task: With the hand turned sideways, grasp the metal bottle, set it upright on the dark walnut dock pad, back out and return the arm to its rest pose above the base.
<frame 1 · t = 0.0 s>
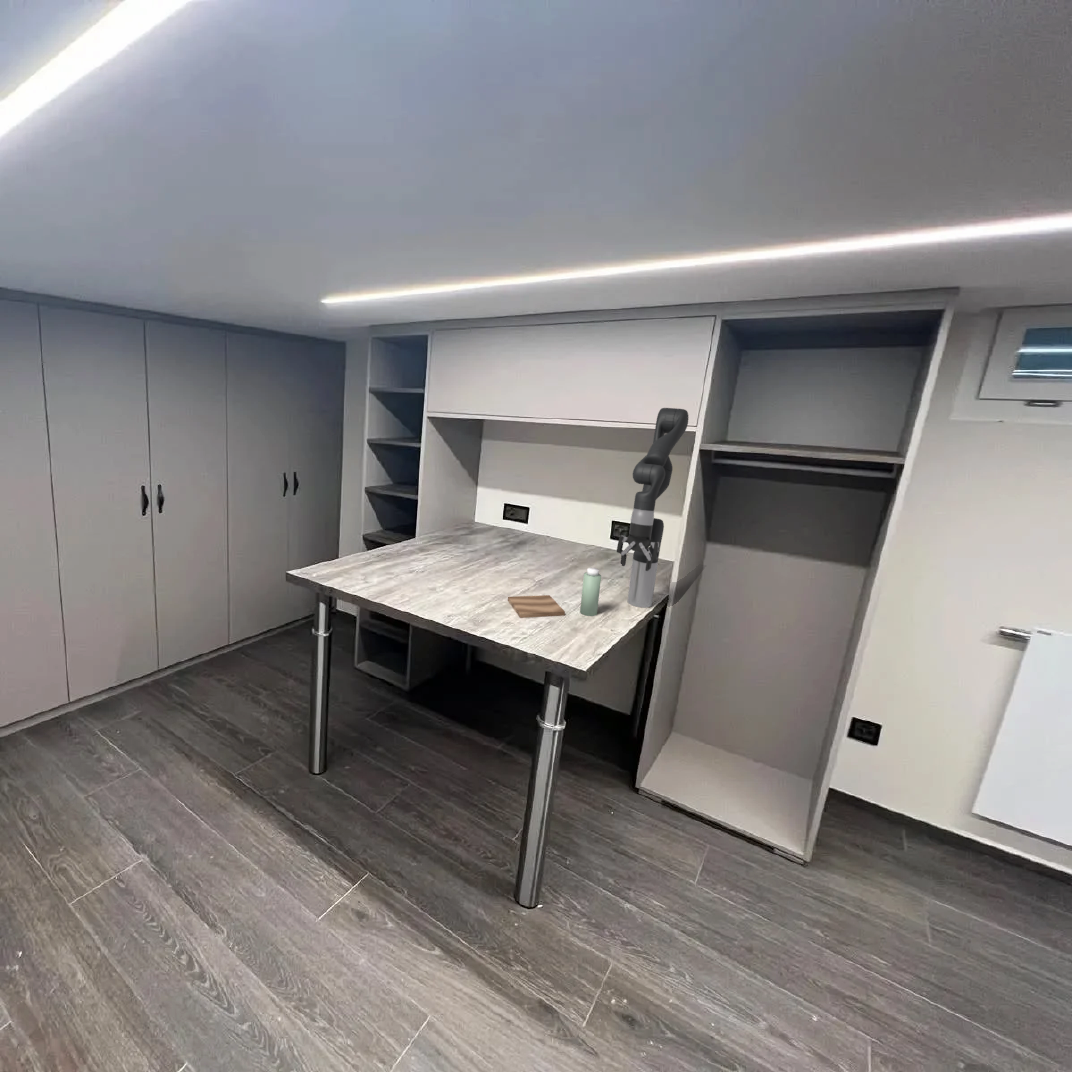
hand: (635, 568, 175), 17 cm above the table, tool pointing down, fingers open, 8 cm apart
bottle: (588, 612, 176), on the table
dock: (535, 607, 177), on the table
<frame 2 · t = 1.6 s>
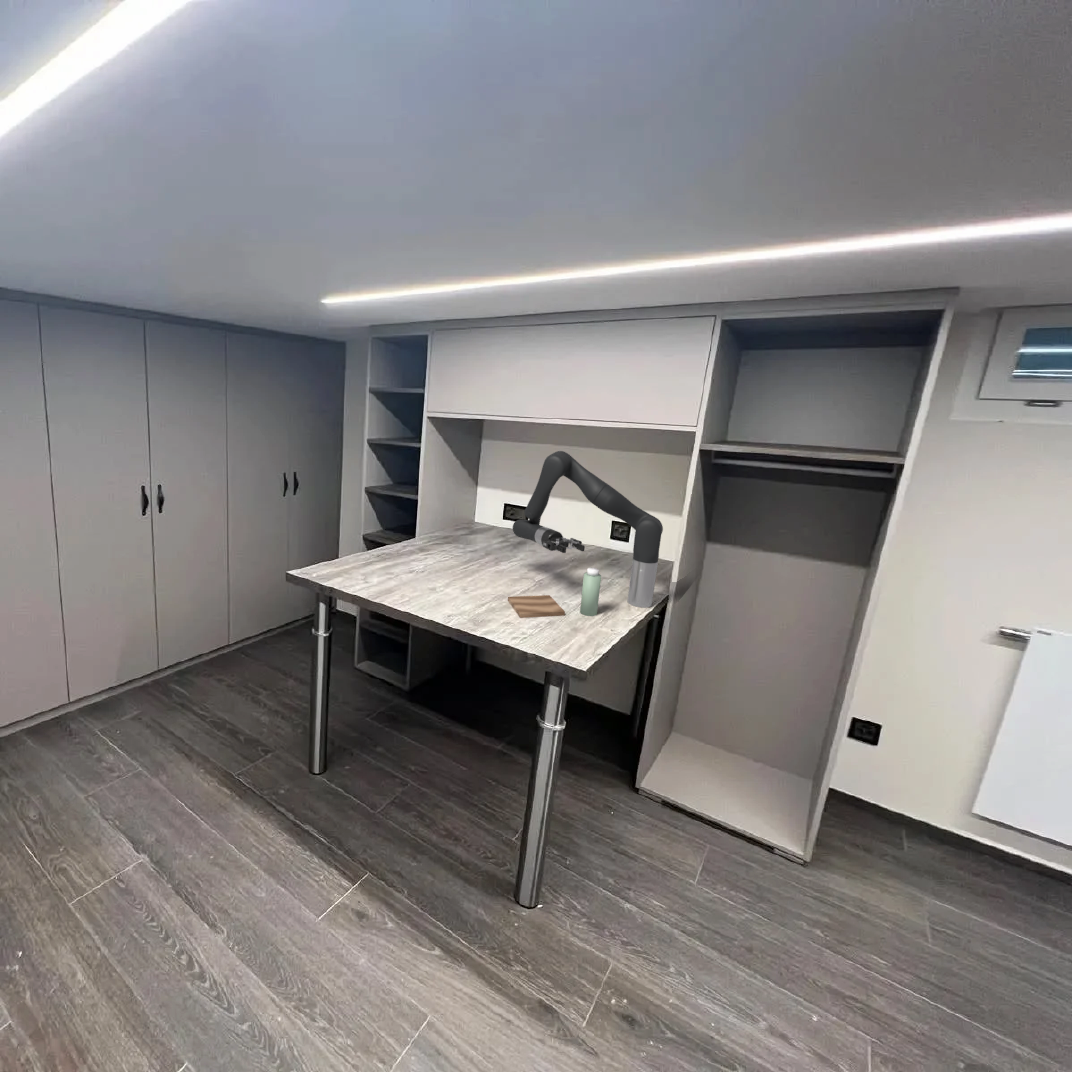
hand: (574, 549, 180), 20 cm above the table, tool horizontal, fingers open, 8 cm apart
nothing on the table moved.
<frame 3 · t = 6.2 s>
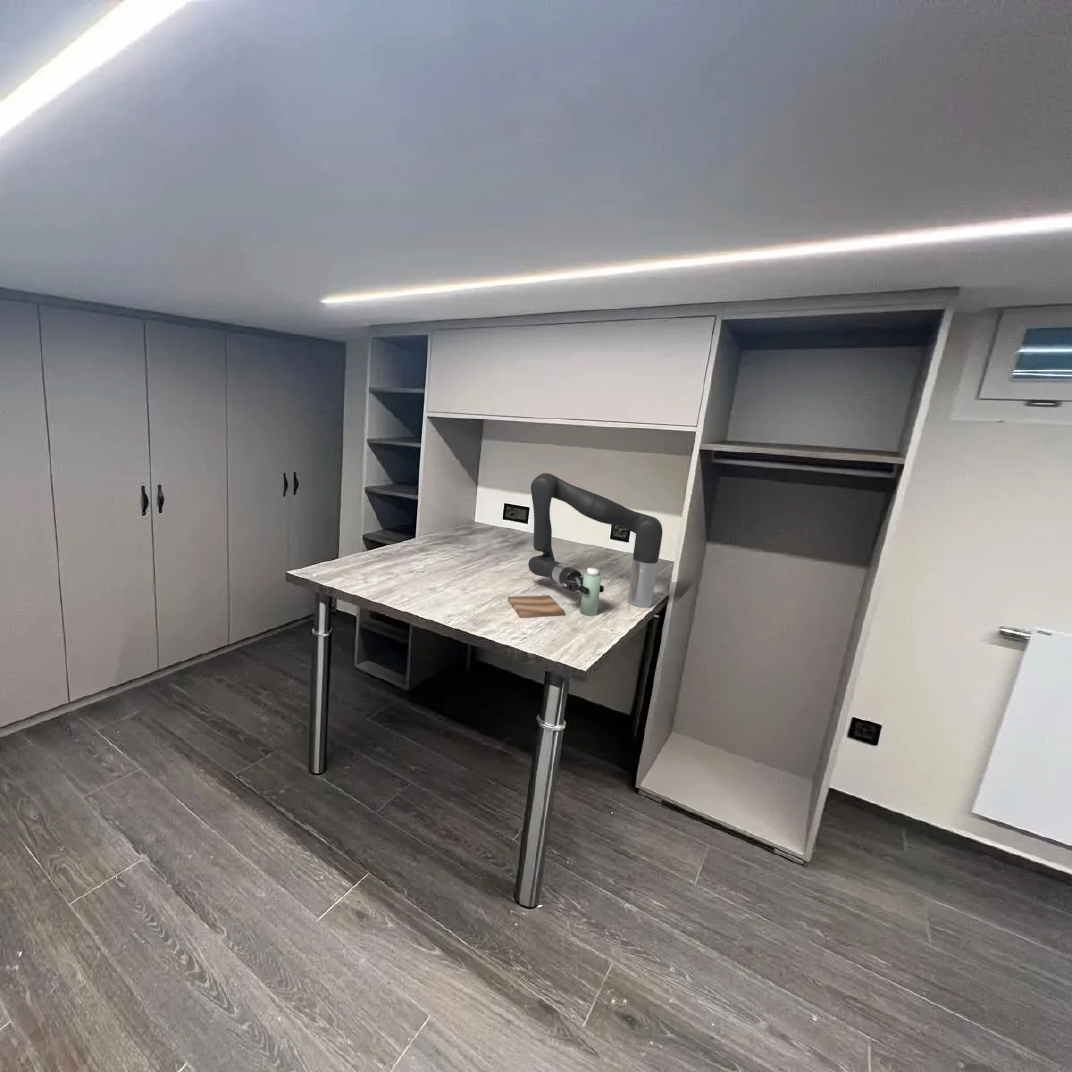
hand: (595, 590, 172), 9 cm above the table, tool horizontal, fingers closed on bottle, 6 cm apart
bottle: (588, 612, 176), on the table, touching gripper
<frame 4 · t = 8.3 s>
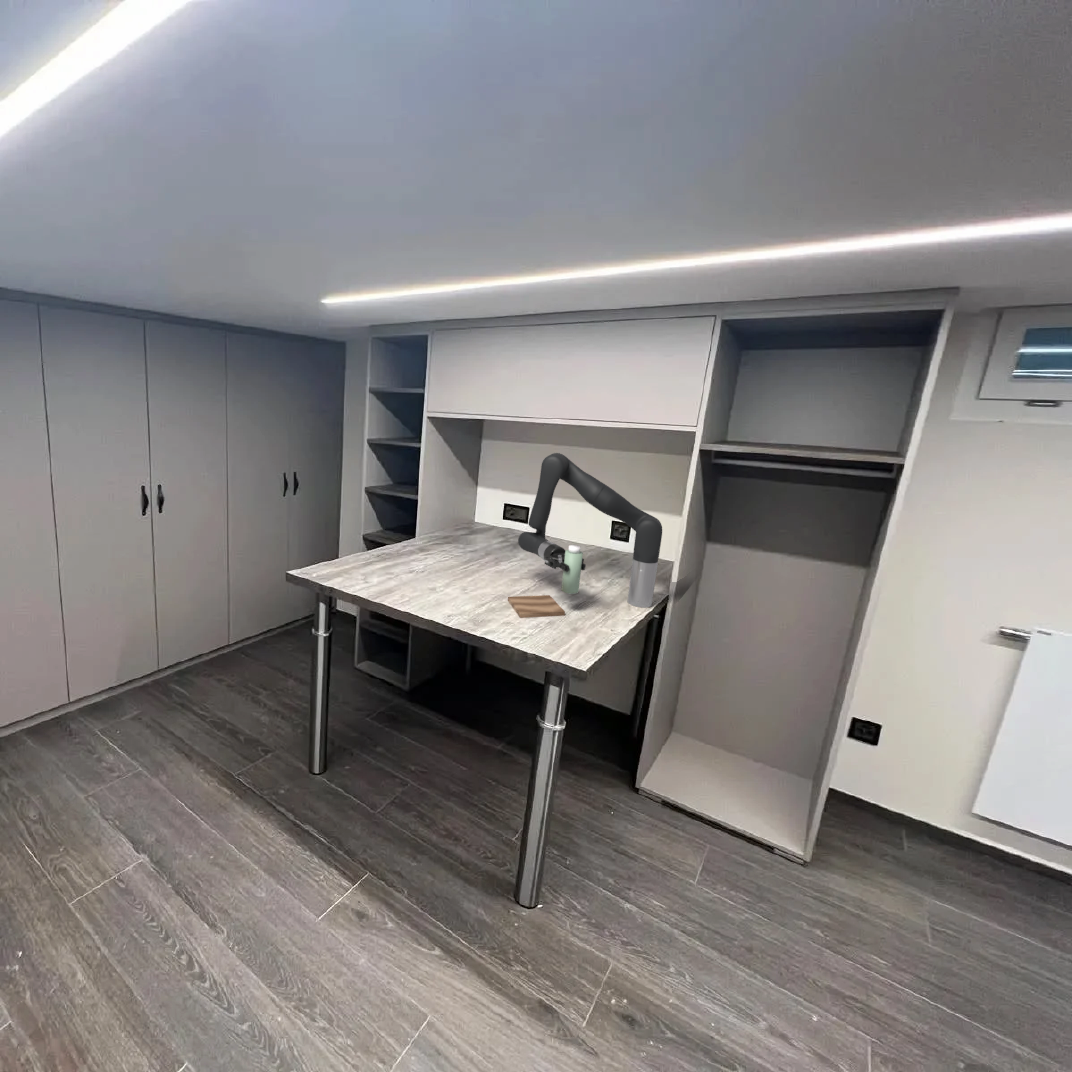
hand: (576, 568, 170), 17 cm above the table, tool horizontal, fingers closed on bottle, 6 cm apart
bottle: (569, 590, 175), point 8 cm above the table, touching gripper
when the fingers open (12 cm above the table, at t = 10.7 s): bottle drops 1 cm, resting on dock.
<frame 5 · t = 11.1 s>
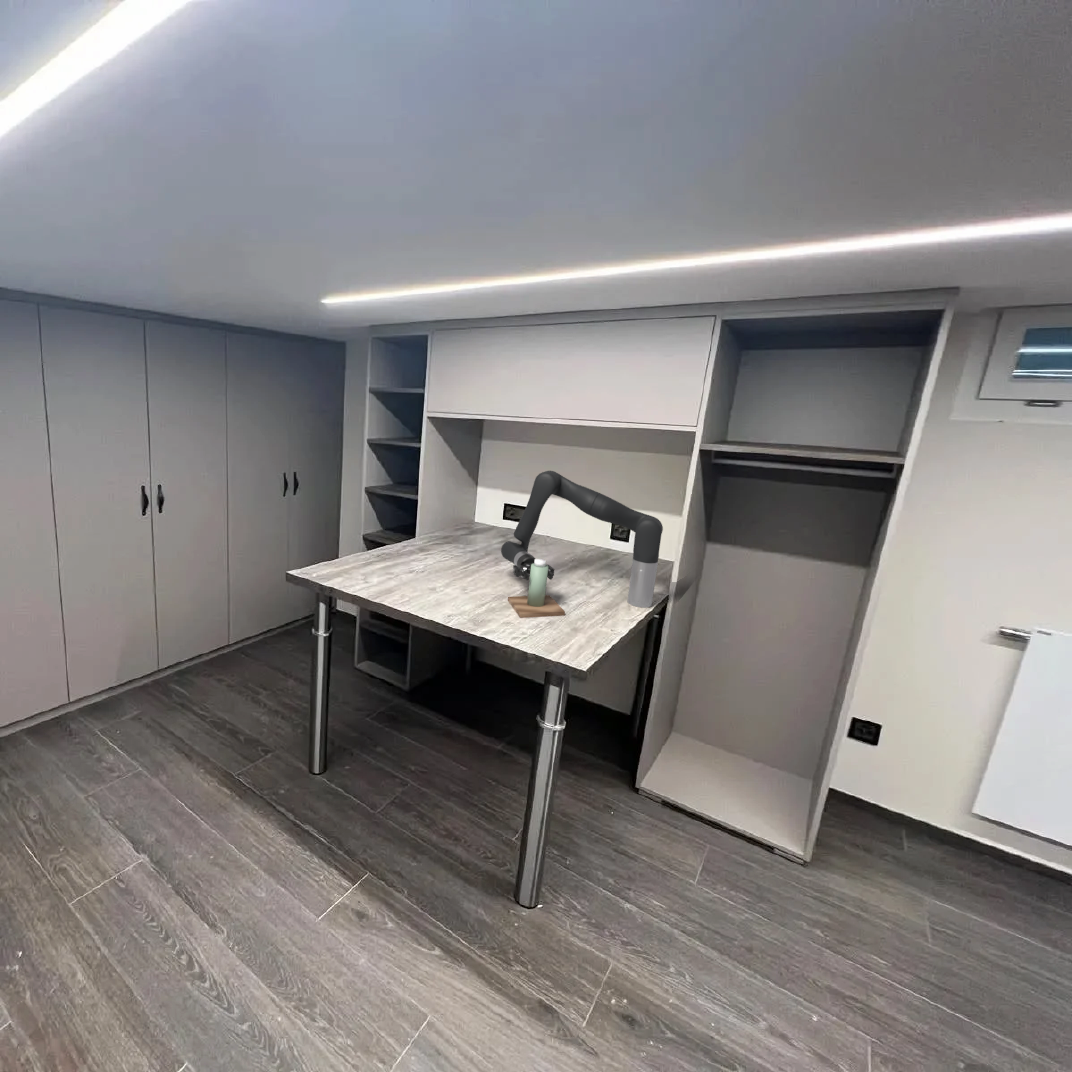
hand: (539, 577, 172), 12 cm above the table, tool horizontal, fingers open, 8 cm apart
bottle: (535, 603, 177), point 2 cm above the table, touching dock
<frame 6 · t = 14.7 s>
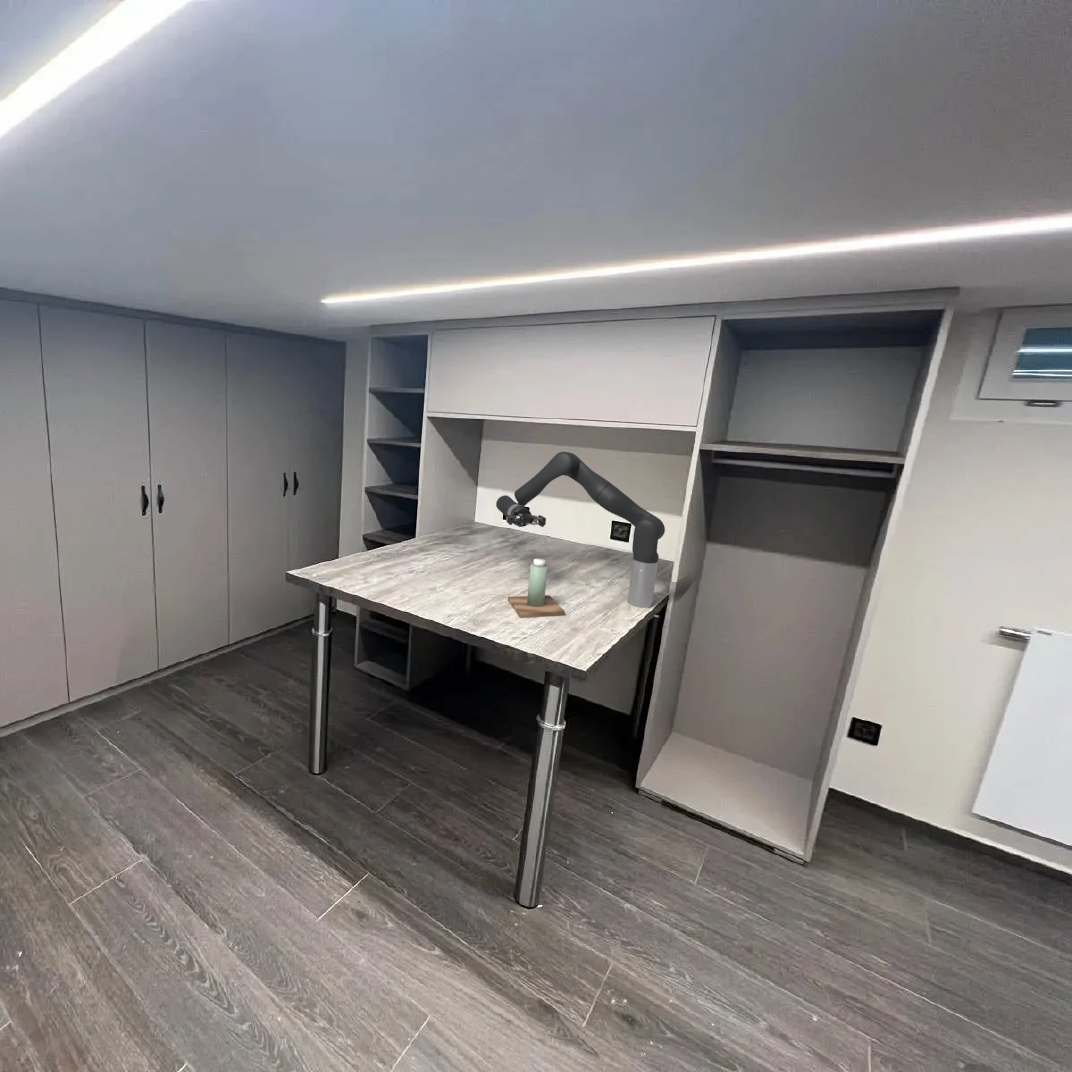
hand: (531, 524, 181), 28 cm above the table, tool horizontal, fingers open, 8 cm apart
nothing on the table moved.
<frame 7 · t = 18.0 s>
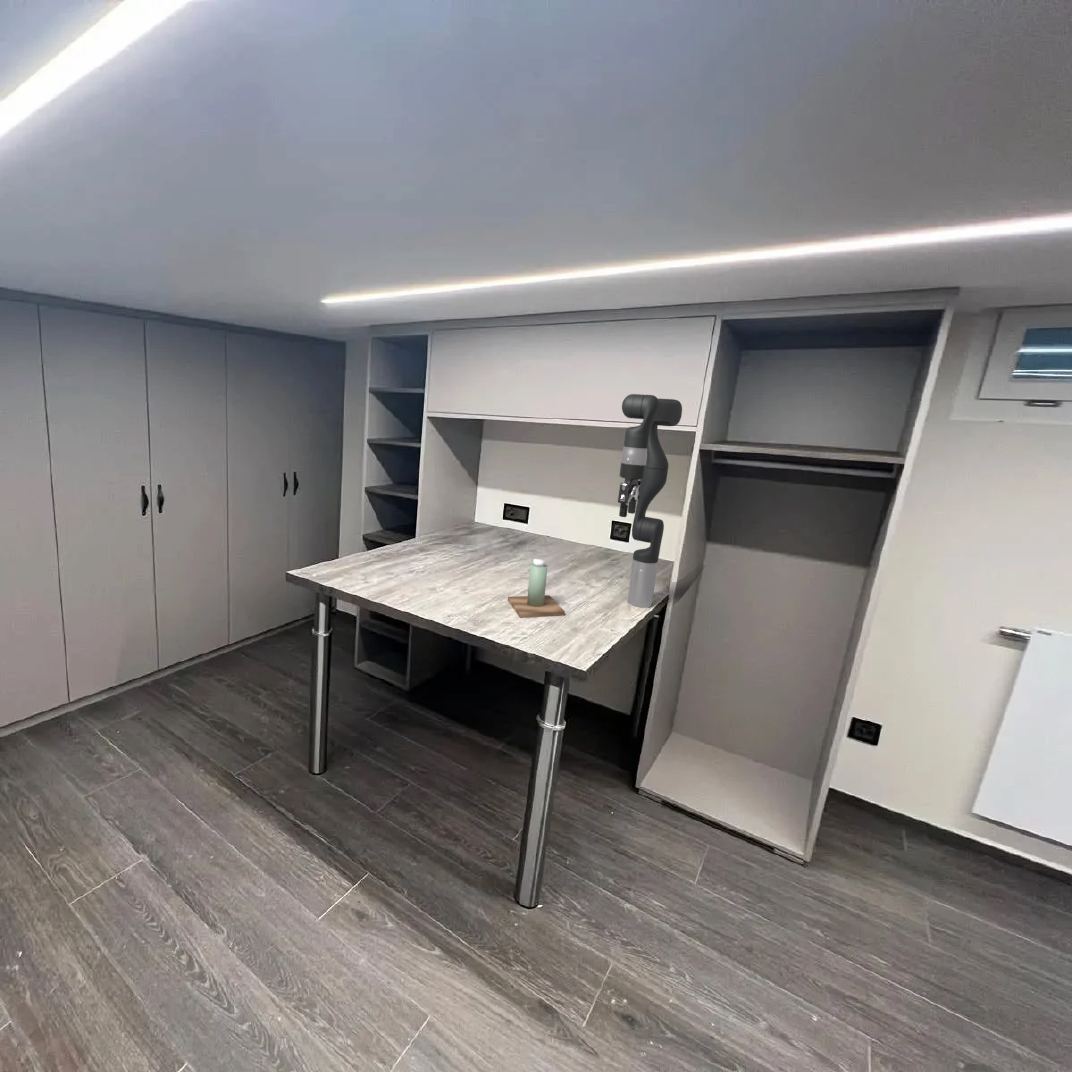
hand: (627, 515, 155), 38 cm above the table, tool pointing down, fingers open, 8 cm apart
nothing on the table moved.
at the end: bottle inside the target area on the dock (0.1 cm from its centre), point 1.5 cm above the dock's base; bottle tilted 0°; the gripper is holding nothing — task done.
